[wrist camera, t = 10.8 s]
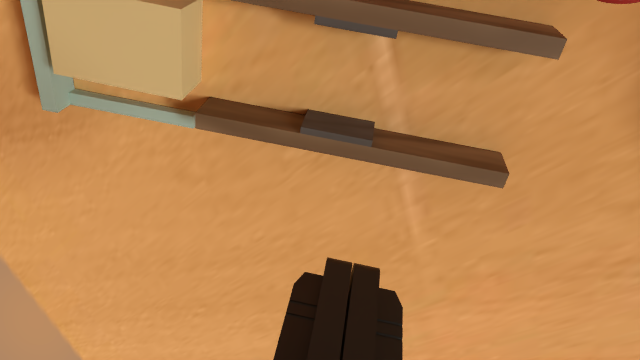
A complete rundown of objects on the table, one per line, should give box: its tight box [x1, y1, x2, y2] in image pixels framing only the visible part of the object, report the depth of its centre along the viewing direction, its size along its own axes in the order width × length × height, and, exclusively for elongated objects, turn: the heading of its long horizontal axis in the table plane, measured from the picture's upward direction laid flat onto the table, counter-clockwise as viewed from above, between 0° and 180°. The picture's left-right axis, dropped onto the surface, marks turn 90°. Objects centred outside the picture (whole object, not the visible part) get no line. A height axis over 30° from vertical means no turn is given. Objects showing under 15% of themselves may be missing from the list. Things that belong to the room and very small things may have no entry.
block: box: [42, 0, 203, 100], centre depth 32 cm, size 6×9×4 cm, turn 81°
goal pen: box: [20, 0, 196, 128], centre depth 32 cm, size 13×11×2 cm
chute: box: [195, 0, 567, 188], centre depth 31 cm, size 10×22×3 cm, turn 82°
